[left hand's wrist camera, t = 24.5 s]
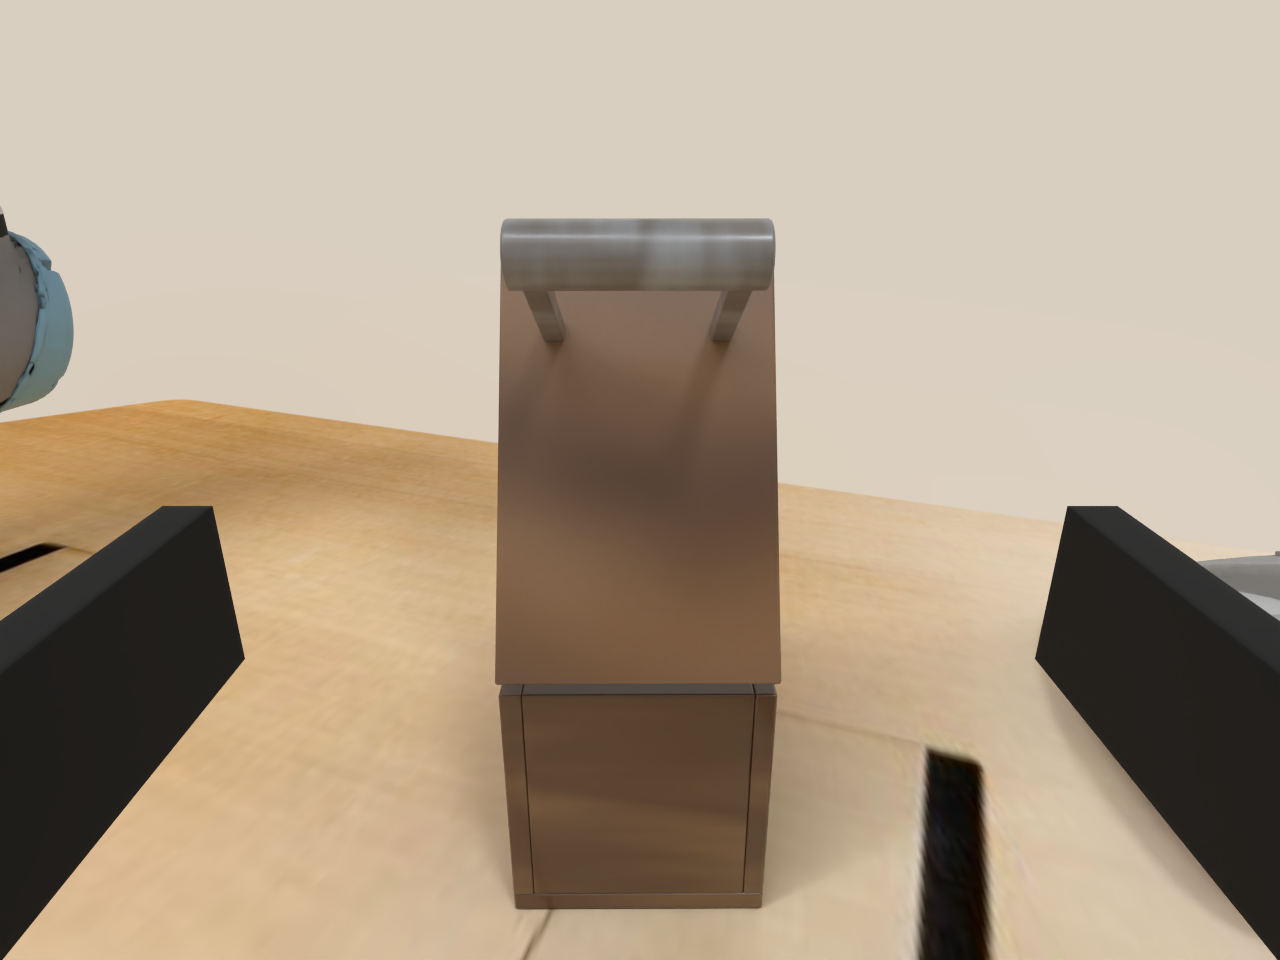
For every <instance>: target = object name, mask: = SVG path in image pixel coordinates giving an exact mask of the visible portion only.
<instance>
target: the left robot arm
mask: <svg viewBox="0 0 1280 960" xmlns="http://www.w3.org/2000/svg"><path fill="white" fill-rule="evenodd" d="M244 659H245V657H244V652H243V648H242V643H241V638H240V633H239V629H238V624H237V619H236V615H235V610H234V605H233V601H232V596H231V591H230V586H229V582H228V577H227V572H226V568H225V563H224V558H223V553H222V549H221V544H220V539H219V535H218V530H217V525H216V521H215V516H214V511H213V506H162V507H161V508H159V509H158V510H156V511H155V512H154V513H152V514H151V515H149V516H148V517H147V518H145V519H144V520H142V521H141V522H140V523H138V524H137V525H135V526H134V527H132V528H131V529H130V530H128V531H127V532H125V533H124V534H123V535H121V536H120V537H118V538H117V539H115V540H114V541H113V542H111V543H110V544H108V545H107V546H106V547H104V548H103V549H101V550H100V551H99V552H97V553H96V554H94V555H93V556H91V557H90V558H89V559H87V560H86V561H84V562H83V563H82V564H80V565H79V566H77V567H76V568H75V569H73V570H72V571H70V572H69V573H67V574H66V575H65V576H63V577H62V578H60V579H59V580H58V581H56V582H55V583H53V584H52V585H50V586H49V587H48V588H46V589H45V590H43V591H42V592H41V593H39V594H38V595H36V596H35V597H34V598H32V599H31V600H29V601H28V602H26V603H25V604H24V605H22V606H21V607H19V608H18V609H17V610H15V611H14V612H12V613H11V614H10V615H8V616H7V617H5V618H4V619H2V620H1V621H0V960H3V958H4V957H5V956H6V955H7V953H8V952H9V951H10V950H11V949H12V947H13V946H14V945H15V944H16V942H17V941H18V940H19V939H20V937H21V936H22V935H23V934H24V932H25V931H26V930H27V929H28V927H29V926H30V925H31V924H32V922H33V921H34V920H35V919H36V917H37V916H38V915H39V914H40V913H41V911H42V910H43V909H44V908H45V906H46V905H47V904H48V903H49V901H50V900H51V899H52V898H53V896H54V895H55V894H56V893H57V891H58V890H59V889H60V888H61V886H62V885H63V884H64V883H65V881H66V880H67V879H68V878H69V877H70V875H71V874H72V873H73V872H74V870H75V869H76V868H77V867H78V865H79V864H80V863H81V862H82V860H83V859H84V858H85V857H86V855H87V854H88V853H89V852H90V850H91V849H92V848H93V847H94V845H95V844H96V843H97V842H98V841H99V839H100V838H101V837H102V836H103V834H104V833H105V832H106V831H107V829H108V828H109V827H110V826H111V824H112V823H113V822H114V821H115V819H116V818H117V817H118V816H119V814H120V813H121V812H122V811H123V809H124V808H125V807H126V806H127V805H128V803H129V802H130V801H131V800H132V798H133V797H134V796H135V795H136V793H137V792H138V791H139V790H140V788H141V787H142V786H143V785H144V783H145V782H146V781H147V780H148V778H149V777H150V776H151V775H152V773H153V772H154V771H155V770H156V769H157V767H158V766H159V765H160V764H161V762H162V761H163V760H164V759H165V757H166V756H167V755H168V754H169V752H170V751H171V750H172V749H173V747H174V746H175V745H176V744H177V742H178V741H179V740H180V739H181V737H182V736H183V735H184V734H185V733H186V731H187V730H188V729H189V728H190V726H191V725H192V724H193V723H194V721H195V720H196V719H197V718H198V716H199V715H200V714H201V713H202V711H203V710H204V709H205V708H206V706H207V705H208V704H209V703H210V701H211V700H212V699H213V698H214V697H215V695H216V694H217V693H218V692H219V690H220V689H221V688H222V687H223V685H224V684H225V683H226V682H227V680H228V679H229V678H230V677H231V675H232V674H233V673H234V672H235V670H236V669H237V668H238V667H239V665H240V664H241V663H242V662H243V661H244ZM1035 659H1036V661H1037V662H1038V663H1039V664H1040V665H1041V667H1042V668H1043V669H1044V670H1045V672H1046V673H1047V674H1048V675H1049V677H1050V678H1051V679H1052V680H1053V682H1054V683H1055V684H1056V685H1057V687H1058V688H1059V689H1060V690H1061V692H1062V693H1063V694H1064V695H1065V697H1066V698H1067V699H1068V700H1069V701H1070V703H1071V704H1072V705H1073V706H1074V708H1075V709H1076V710H1077V711H1078V713H1079V714H1080V715H1081V716H1082V718H1083V719H1084V720H1085V721H1086V723H1087V724H1088V725H1089V726H1090V728H1091V729H1092V730H1093V731H1094V733H1095V734H1096V735H1097V736H1098V737H1099V739H1100V740H1101V741H1102V742H1103V744H1104V745H1105V746H1106V747H1107V749H1108V750H1109V751H1110V752H1111V754H1112V755H1113V756H1114V757H1115V759H1116V760H1117V761H1118V762H1119V764H1120V765H1121V766H1122V767H1123V769H1124V770H1125V771H1126V772H1127V773H1128V775H1129V776H1130V777H1131V778H1132V780H1133V781H1134V782H1135V783H1136V785H1137V786H1138V787H1139V788H1140V790H1141V791H1142V792H1143V793H1144V795H1145V796H1146V797H1147V798H1148V800H1149V801H1150V802H1151V803H1152V805H1153V806H1154V807H1155V808H1156V809H1157V811H1158V812H1159V813H1160V814H1161V816H1162V817H1163V818H1164V819H1165V821H1166V822H1167V823H1168V824H1169V826H1170V827H1171V828H1172V829H1173V831H1174V832H1175V833H1176V834H1177V836H1178V837H1179V838H1180V839H1181V841H1182V842H1183V843H1184V844H1185V845H1186V847H1187V848H1188V849H1189V850H1190V852H1191V853H1192V854H1193V855H1194V857H1195V858H1196V859H1197V860H1198V862H1199V863H1200V864H1201V865H1202V867H1203V868H1204V869H1205V870H1206V872H1207V873H1208V874H1209V875H1210V877H1211V878H1212V879H1213V880H1214V881H1215V883H1216V884H1217V885H1218V886H1219V888H1220V889H1221V890H1222V891H1223V893H1224V894H1225V895H1226V896H1227V898H1228V899H1229V900H1230V901H1231V903H1232V904H1233V905H1234V906H1235V908H1236V909H1237V910H1238V911H1239V913H1240V914H1241V915H1242V916H1243V917H1244V919H1245V920H1246V921H1247V922H1248V924H1249V925H1250V926H1251V927H1252V929H1253V930H1254V931H1255V932H1256V934H1257V935H1258V936H1259V937H1260V939H1261V940H1262V941H1263V942H1264V944H1265V945H1266V946H1267V947H1268V949H1269V950H1270V951H1271V952H1272V953H1273V955H1274V956H1275V957H1276V958H1277V960H1280V621H1279V620H1278V619H1276V618H1275V617H1273V616H1272V615H1270V614H1269V613H1268V612H1266V611H1265V610H1263V609H1262V608H1261V607H1259V606H1258V605H1256V604H1255V603H1254V602H1252V601H1251V600H1249V599H1248V598H1246V597H1245V596H1244V595H1242V594H1241V593H1239V592H1238V591H1237V590H1235V589H1234V588H1232V587H1231V586H1230V585H1228V584H1227V583H1225V582H1224V581H1222V580H1221V579H1220V578H1218V577H1217V576H1215V575H1214V574H1213V573H1211V572H1210V571H1208V570H1207V569H1205V568H1204V567H1203V566H1201V565H1200V564H1198V563H1197V562H1196V561H1194V560H1193V559H1191V558H1190V557H1189V556H1187V555H1186V554H1184V553H1183V552H1181V551H1180V550H1179V549H1177V548H1176V547H1174V546H1173V545H1172V544H1170V543H1169V542H1167V541H1166V540H1165V539H1163V538H1162V537H1160V536H1159V535H1157V534H1156V533H1155V532H1153V531H1152V530H1150V529H1149V528H1148V527H1146V526H1145V525H1143V524H1142V523H1140V522H1139V521H1138V520H1136V519H1135V518H1133V517H1132V516H1131V515H1129V514H1128V513H1126V512H1125V511H1124V510H1122V509H1121V508H1119V507H1118V506H1068V507H1067V511H1066V516H1065V521H1064V525H1063V530H1062V535H1061V539H1060V544H1059V549H1058V553H1057V558H1056V563H1055V568H1054V572H1053V577H1052V582H1051V586H1050V591H1049V596H1048V601H1047V605H1046V610H1045V615H1044V619H1043V624H1042V629H1041V633H1040V638H1039V643H1038V648H1037V652H1036V657H1035Z"/></svg>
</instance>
